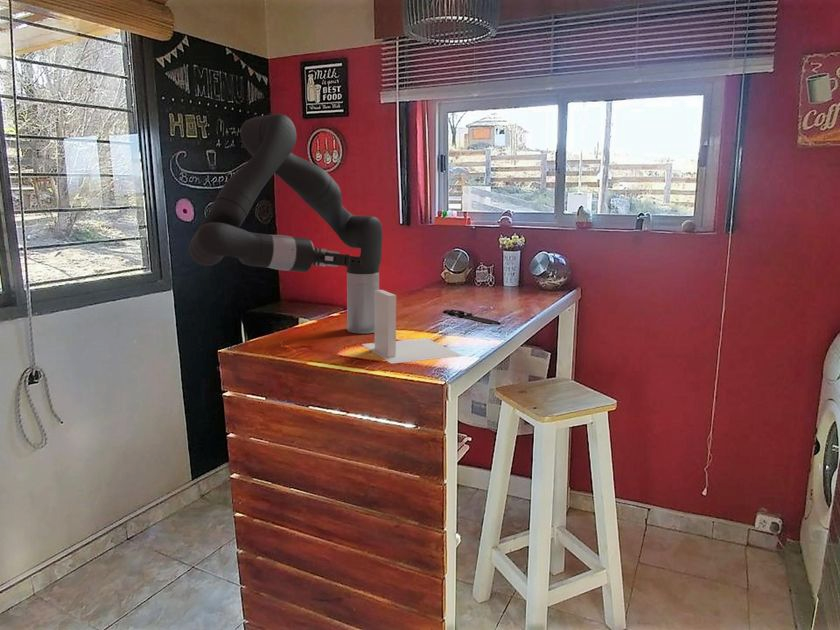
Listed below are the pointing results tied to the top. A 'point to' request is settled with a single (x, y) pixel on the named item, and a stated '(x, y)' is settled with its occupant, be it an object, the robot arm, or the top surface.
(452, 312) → the knife
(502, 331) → the top surface
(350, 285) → the robot arm
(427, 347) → the mat
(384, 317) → the tile
